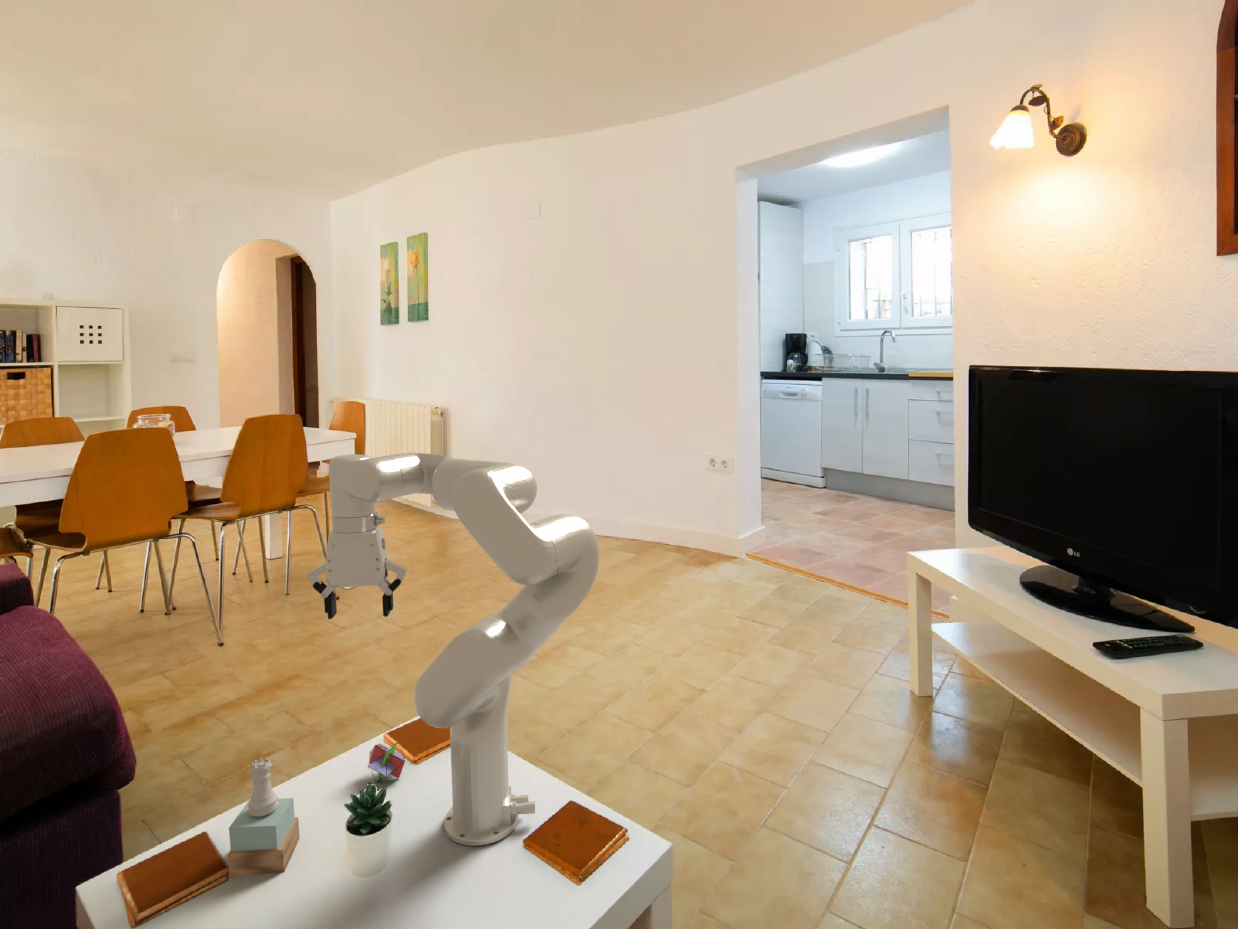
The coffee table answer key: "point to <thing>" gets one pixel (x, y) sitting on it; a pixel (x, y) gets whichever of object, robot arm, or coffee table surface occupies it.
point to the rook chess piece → (262, 790)
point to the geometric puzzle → (386, 761)
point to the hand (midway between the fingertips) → (359, 615)
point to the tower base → (264, 857)
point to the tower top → (262, 828)
